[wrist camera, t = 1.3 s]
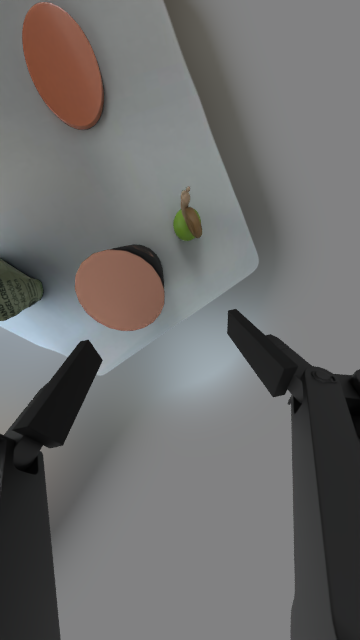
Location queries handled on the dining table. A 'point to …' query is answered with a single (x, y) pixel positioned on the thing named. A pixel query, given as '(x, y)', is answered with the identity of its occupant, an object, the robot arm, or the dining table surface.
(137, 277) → the coffee jar
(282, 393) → the robot arm
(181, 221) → the snail figurine
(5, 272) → the pouch
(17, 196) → the dining table surface
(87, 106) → the terracotta coaster
